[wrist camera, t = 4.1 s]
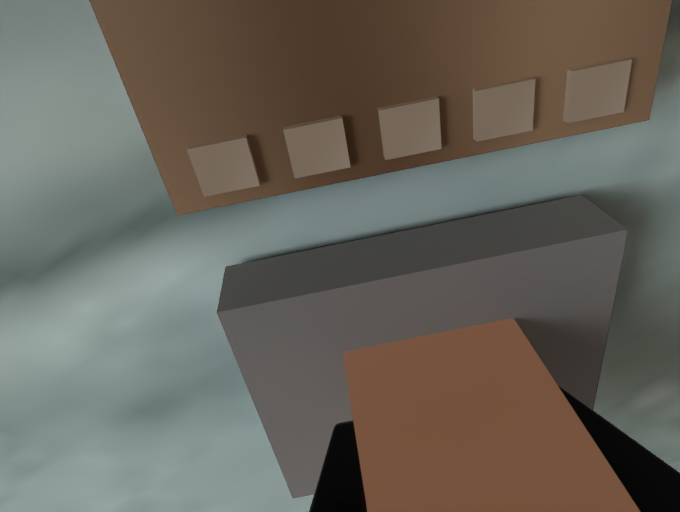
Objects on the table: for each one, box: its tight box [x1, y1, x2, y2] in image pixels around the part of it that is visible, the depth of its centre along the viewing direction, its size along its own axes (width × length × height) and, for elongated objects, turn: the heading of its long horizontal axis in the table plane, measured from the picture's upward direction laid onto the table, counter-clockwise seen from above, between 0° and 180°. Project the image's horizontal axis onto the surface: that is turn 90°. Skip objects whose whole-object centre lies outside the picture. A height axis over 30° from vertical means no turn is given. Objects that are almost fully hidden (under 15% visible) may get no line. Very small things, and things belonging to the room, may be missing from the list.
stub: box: [217, 195, 640, 512], centre depth 8 cm, size 7×6×7 cm
